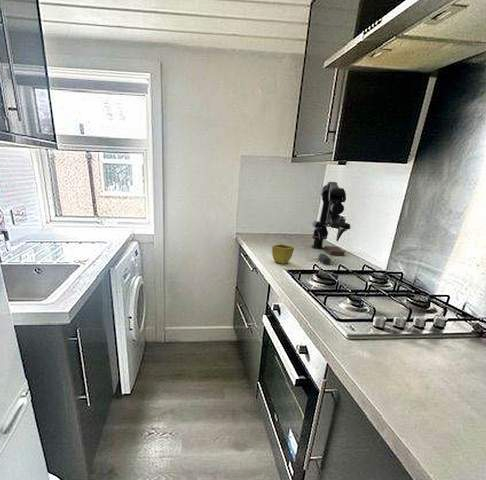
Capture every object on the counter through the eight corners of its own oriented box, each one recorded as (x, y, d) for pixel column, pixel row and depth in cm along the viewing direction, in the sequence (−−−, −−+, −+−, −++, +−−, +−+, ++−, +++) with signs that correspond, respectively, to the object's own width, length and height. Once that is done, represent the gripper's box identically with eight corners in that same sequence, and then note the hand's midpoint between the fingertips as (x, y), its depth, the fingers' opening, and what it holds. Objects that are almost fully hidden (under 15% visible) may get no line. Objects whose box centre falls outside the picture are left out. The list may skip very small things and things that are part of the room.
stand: (324, 249, 199) (324, 245, 198) (336, 250, 198) (337, 246, 197) (330, 255, 185) (331, 251, 184) (344, 255, 185) (344, 251, 184)
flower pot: (279, 259, 171) (280, 243, 168) (292, 262, 165) (294, 246, 162) (270, 261, 165) (271, 245, 162) (283, 265, 159) (285, 249, 156)
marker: (317, 258, 176) (318, 253, 175) (323, 258, 176) (324, 253, 175) (323, 264, 166) (324, 258, 165) (329, 264, 165) (330, 258, 164)
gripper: (320, 213, 155) (315, 242, 160) (357, 215, 155) (351, 244, 160) (314, 210, 166) (310, 238, 171) (348, 212, 165) (343, 240, 170)
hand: (328, 240), depth 168 cm, fingers open, 9 cm apart
